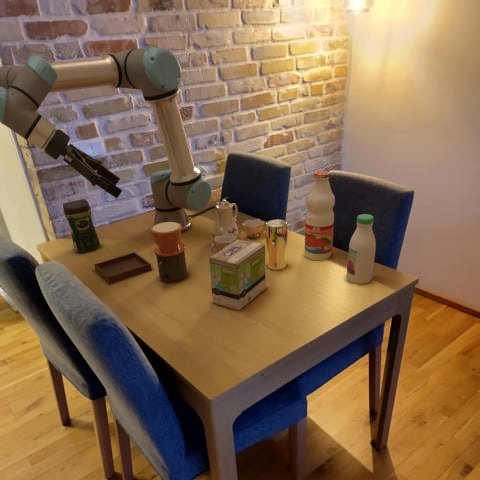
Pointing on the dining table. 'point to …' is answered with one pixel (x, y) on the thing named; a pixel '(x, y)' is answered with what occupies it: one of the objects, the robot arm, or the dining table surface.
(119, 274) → the tray
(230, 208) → the chinaware
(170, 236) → the filter
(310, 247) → the fruit juice
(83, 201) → the coffee jar
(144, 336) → the dining table surface
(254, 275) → the tea box
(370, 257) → the milk bottle
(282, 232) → the beer glass
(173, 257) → the mug
